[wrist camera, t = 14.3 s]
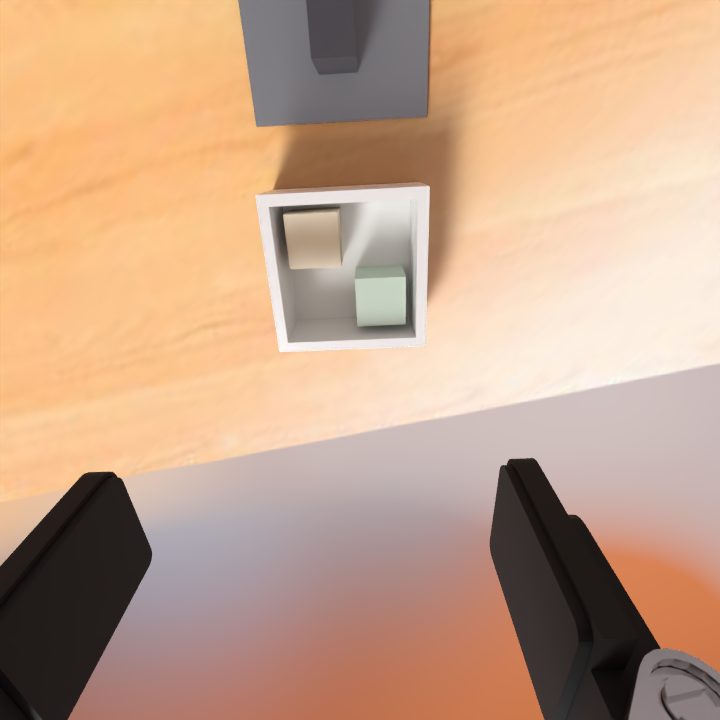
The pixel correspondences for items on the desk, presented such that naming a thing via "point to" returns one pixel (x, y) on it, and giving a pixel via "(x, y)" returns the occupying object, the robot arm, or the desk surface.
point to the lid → (336, 59)
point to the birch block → (314, 237)
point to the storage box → (348, 265)
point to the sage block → (380, 295)
